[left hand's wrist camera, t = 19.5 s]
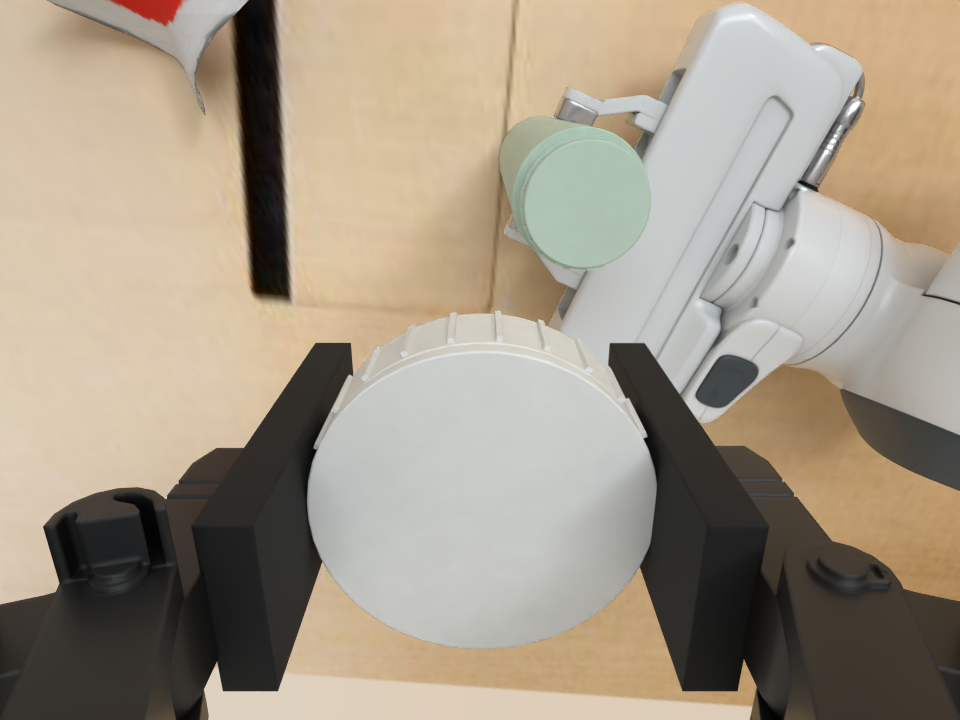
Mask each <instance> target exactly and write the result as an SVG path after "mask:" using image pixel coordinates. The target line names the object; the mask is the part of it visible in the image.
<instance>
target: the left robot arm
mask: <svg viewBox="0 0 960 720" xmlns="http://www.w3.org/2000/svg"><path fill="white" fill-rule="evenodd" d="M608 366H609V367H610V368H611V369H612V371H613V374H614V376H615V378H616V380H617V382H618V384H619V386H620V388H621V390H622V392H623V394H624V396H625V398H626V399H627V398H629V399H630V401H631V403H632V405H633V407H634V409H635V411H636V413H637V415H638V417H639V419H640V421H641V423H642V425H643V427H644V429H645V431H646V434H647V436H648V437H646V438H644V441H645V443H646V445H647V447H648V450H649V453H650V456H651V459H652V462H653V465H654V468H655V473H656V479H657V491H656V501H655V509H654V518H653V527H652V535H651V542H650V546H649V549H648V551H647V553H646V555H645V557H644V559H643V561H642V563H641V565H640V569H641V571H642V574H643V577H644V580H645V583H646V586H647V589H648V592H649V595H650V598H651V601H652V604H653V606H654V609H655V612H656V615H657V618H658V621H659V624H660V627H661V630H662V633H663V636H664V639H665V641H666V644H667V647H668V650H669V653H670V656H671V659H672V662H673V665H674V668H675V671H676V674H677V676H678V679H679V682H680V685H681V688H682V691H738V685H739V680H740V675H741V670H742V665H743V660H745V662H746V664H747V667H748V669H749V671H750V673H751V675H752V677H753V679H754V681H755V683H756V686H757V688H756V693H755V698H754V702H753V707H752V712H751V717H750V720H960V602H959V601H954V600H949V599H945V598H940V597H935V596H930V595H925V594H921V593H916V592H913V591H909V590H905V589H903V587H902V585H901V583H900V581H899V580H898V579H897V577H896V576H895V575H894V573H893V572H892V571H891V569H890V568H888V567H887V566H886V565H884V564H883V563H882V562H880V561H879V560H877V559H876V558H875V557H873V556H872V555H869V554H867V553H865V552H863V551H861V550H859V549H856V548H854V547H852V546H848V545H844V544H841V543H837V542H833V541H832V540H831V539H830V538H829V537H828V535H827V534H826V533H825V532H824V530H823V529H822V528H821V527H820V525H819V524H818V523H817V522H816V520H815V519H814V518H813V517H812V515H811V514H810V513H809V512H808V510H807V509H806V508H805V507H804V505H803V504H802V503H801V502H800V500H799V499H798V498H797V497H794V493H793V492H792V490H791V489H790V488H789V487H788V485H787V484H786V483H785V482H782V478H781V477H780V475H779V474H778V473H777V472H776V470H775V469H774V468H773V467H772V465H771V464H770V463H769V462H768V461H767V460H765V459H764V458H762V457H761V456H759V455H758V454H756V453H754V452H753V451H751V450H750V449H748V448H746V447H745V446H715V445H714V444H713V442H712V441H711V440H710V438H709V437H708V435H707V434H706V432H705V431H704V429H703V428H702V426H701V425H700V423H699V422H698V420H697V419H696V418H695V416H694V415H693V413H692V412H691V410H690V409H689V407H688V406H687V404H686V403H685V401H684V400H683V398H682V397H681V395H680V394H679V393H678V391H677V390H676V388H675V387H674V385H673V384H672V382H671V381H670V379H669V378H668V376H667V375H666V373H665V372H664V371H663V369H662V368H661V366H660V365H659V363H658V362H657V360H656V359H655V357H654V356H653V354H652V353H651V351H650V350H649V349H648V347H647V346H646V344H645V343H610V346H609V359H608ZM349 375H351V376H353V366H352V353H351V343H315V345H314V346H313V348H312V349H311V351H310V352H309V354H308V355H307V356H306V358H305V359H304V361H303V362H302V364H301V365H300V367H299V368H298V370H297V371H296V373H295V374H294V376H293V377H292V379H291V380H290V381H289V383H288V384H287V386H286V387H285V389H284V390H283V392H282V393H281V395H280V396H279V398H278V399H277V401H276V402H275V403H274V405H273V406H272V408H271V409H270V411H269V412H268V414H267V415H266V417H265V418H264V420H263V421H262V423H261V424H260V425H259V427H258V428H257V430H256V431H255V433H254V434H253V436H252V437H251V439H250V440H249V442H248V443H247V445H246V446H245V448H216V449H214V450H213V451H211V452H210V453H208V454H207V455H205V456H203V457H202V458H200V459H199V460H197V461H196V462H194V463H193V464H192V465H191V466H190V467H189V469H188V470H187V471H186V472H185V474H184V475H183V476H182V478H181V479H180V480H179V484H176V485H175V486H174V488H173V489H172V490H171V491H170V493H169V494H168V495H167V499H164V497H162V496H161V495H160V494H158V493H157V492H156V491H153V490H149V489H144V488H139V487H136V488H117V489H112V490H108V491H104V492H99V493H95V494H92V495H90V496H87V497H85V498H82V499H80V500H77V501H75V502H72V503H71V504H69V505H68V506H66V507H65V508H63V509H61V510H60V511H58V512H57V513H55V514H54V515H53V516H52V517H51V518H50V520H49V521H48V522H47V523H46V524H45V525H44V526H43V528H44V531H45V535H46V538H47V542H48V545H49V549H50V552H51V555H52V559H53V562H54V566H55V569H56V573H57V576H58V579H59V583H60V584H59V586H58V588H57V591H56V592H55V593H51V594H47V595H44V596H39V597H34V598H29V599H25V600H20V601H15V602H10V603H5V604H1V605H0V720H208V709H207V703H206V698H205V693H204V688H205V686H206V684H207V681H208V679H209V677H210V675H211V673H212V671H213V669H214V667H215V664H216V662H217V663H218V668H219V673H220V678H221V683H222V688H223V691H278V689H279V686H280V683H281V681H282V678H283V675H284V672H285V669H286V666H287V663H288V660H289V657H290V654H291V651H292V648H293V646H294V643H295V640H296V637H297V634H298V631H299V628H300V625H301V622H302V619H303V616H304V613H305V611H306V608H307V605H308V602H309V599H310V596H311V593H312V590H313V587H314V584H315V581H316V578H317V576H318V573H319V570H320V567H321V564H322V560H321V558H320V555H319V553H318V551H317V548H316V546H315V543H314V541H313V537H312V533H311V529H310V525H309V521H308V511H307V488H308V479H309V474H310V470H311V466H312V461H313V459H314V456H315V454H316V451H317V450H316V449H313V448H314V445H315V442H316V440H317V438H318V436H319V434H320V432H321V430H322V428H323V426H324V424H325V422H326V419H327V417H328V415H329V413H330V411H331V409H332V407H333V405H334V403H335V401H336V399H337V397H338V395H339V393H340V391H341V389H342V387H343V385H344V383H345V381H346V379H347V377H348V376H349Z"/></svg>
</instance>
